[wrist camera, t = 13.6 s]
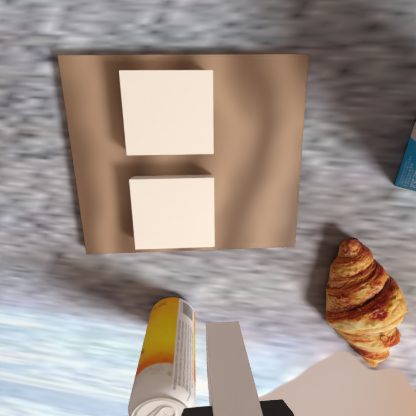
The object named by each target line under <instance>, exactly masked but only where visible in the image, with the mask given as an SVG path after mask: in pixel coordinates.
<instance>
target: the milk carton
mask: <svg viewBox="0 0 416 416" xmlns="http://www.w3.org/2000/svg"><path fill="white" fill-rule="evenodd" d="M395 186H398V187H402V188H405V189H409V190H413V191H416V121H415V124H414V127H413V130H412V133H411V136H410V139H409V143H408V146H407V149H406V152H405V155H404V158H403V161H402V164H401V167H400V170H399V173H398V176H397V179H396V182H395Z"/></svg>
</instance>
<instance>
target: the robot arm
mask: <svg viewBox="0 0 416 416" xmlns="http://www.w3.org/2000/svg"><path fill="white" fill-rule="evenodd" d="M206 345H207V376H208V389H209V402H210V406H204V407H192V408H184V409H183V412H182V414H181V416H294V414H293V412H292V411H291V410H290V408H289V407H288V406H287V405H286V403H285V402H284V401H283V400H270V401H259V399H258V395H257V391H256V387H255V383H254V379H253V376H252V372H251V368H250V364H249V360H248V356H247V353H246V349H245V345H244V341H243V337H242V334H241V330H240V326H239V322H238V321H237V322H221V323H206Z"/></svg>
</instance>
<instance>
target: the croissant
mask: <svg viewBox="0 0 416 416" xmlns="http://www.w3.org/2000/svg"><path fill="white" fill-rule="evenodd" d="M326 301H327V302H326V320H327V322H328V323H329V324H330V325H331V326H332V327H334V328H335V330H336V332H337V333H338V334H340V335H341V336H342V337H343V338H344V339H345V340H347V341H348V342H349V343H350V345H351V347H352V348H353V349H354V350H355V351H356V352H357V353H358V354H359V355H361V357H362V358H363V360H364V361H365V363H367V364H369V365H371V366H372V367H376V366H377V365H378V363H379V362H381V361H383V360H385V359H386V358H387V357H388V356H389V349H390V348H391V347H392V346H394V345H396V344H398V343H399V342H400V337H401V334H400V332H399V330H398V329H397V328H396V327H397V326H398V325H399V324H400V323H401V322H402V320H403V318H404V316H405V313H406V312H407V310H408V309H407V306H406V302H405V299H404V295H403V293H402V291H401V289H400V288H399V286H398V284H397V282H396V281H395V280H394V279H393V278H392V277H391V276H389V275H388V274H387V273H386V271H385V270H384V268H383V267H382V266H381V265H380V264H379V263H378V262H377V261H376V260H374V259H373V255H372V252H371V251H370V249H369V248H368V247H366V246H365V245H363V244H362V243H361V242H360V241H358V239H357V238H347V239H346V240H345V242H342V244H341V245H340V247H339V251H338V256H337V258H336V259H335V260H334V261H333V263H332V264H331V267H330V272H329V281H328V284H327V287H326Z"/></svg>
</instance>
